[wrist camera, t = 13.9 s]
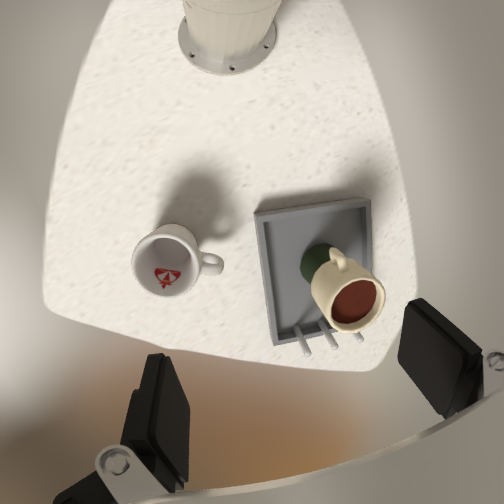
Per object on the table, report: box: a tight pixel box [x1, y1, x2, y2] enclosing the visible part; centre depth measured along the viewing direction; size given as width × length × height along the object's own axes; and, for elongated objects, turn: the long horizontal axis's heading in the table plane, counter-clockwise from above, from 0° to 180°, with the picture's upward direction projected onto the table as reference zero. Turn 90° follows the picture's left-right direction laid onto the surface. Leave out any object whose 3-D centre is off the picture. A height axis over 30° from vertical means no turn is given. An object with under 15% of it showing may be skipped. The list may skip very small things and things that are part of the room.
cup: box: [131, 224, 224, 298], centre depth 36 cm, size 11×8×8 cm
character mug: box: [300, 243, 385, 333], centre depth 36 cm, size 11×7×13 cm, turn 19°
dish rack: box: [253, 197, 372, 357], centre depth 40 cm, size 20×16×8 cm
